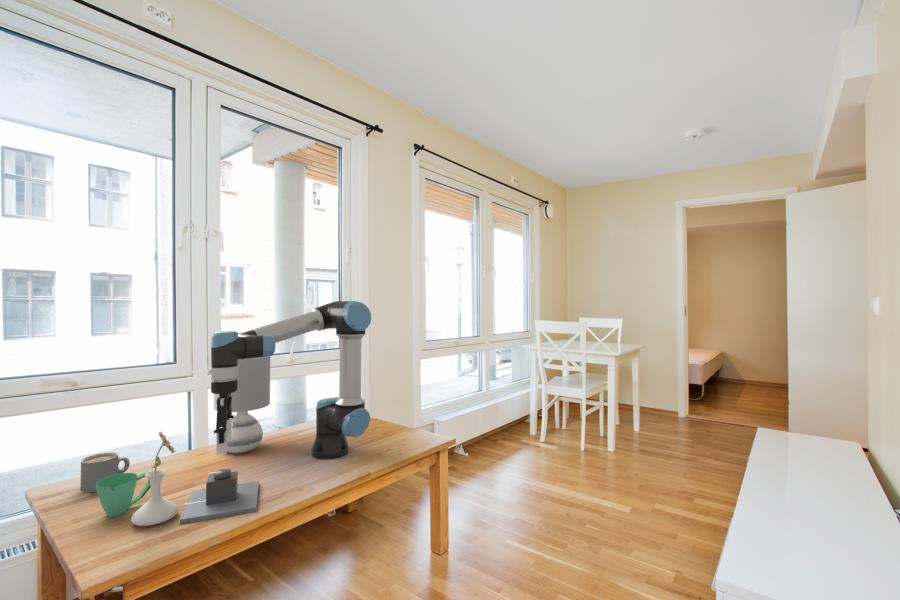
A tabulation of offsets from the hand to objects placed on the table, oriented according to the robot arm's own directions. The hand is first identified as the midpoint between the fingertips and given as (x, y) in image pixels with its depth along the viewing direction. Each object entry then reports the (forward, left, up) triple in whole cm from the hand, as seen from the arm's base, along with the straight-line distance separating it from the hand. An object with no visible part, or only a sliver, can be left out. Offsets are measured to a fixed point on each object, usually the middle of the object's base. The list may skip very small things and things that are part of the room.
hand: (224, 446), depth 134 cm
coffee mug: (+39, -29, -18) cm, 52 cm away
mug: (+27, -6, -18) cm, 33 cm away
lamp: (-2, -50, -18) cm, 53 cm away
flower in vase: (+17, +4, -18) cm, 25 cm away
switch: (0, 0, -18) cm, 18 cm away
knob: (0, 0, -17) cm, 17 cm away
